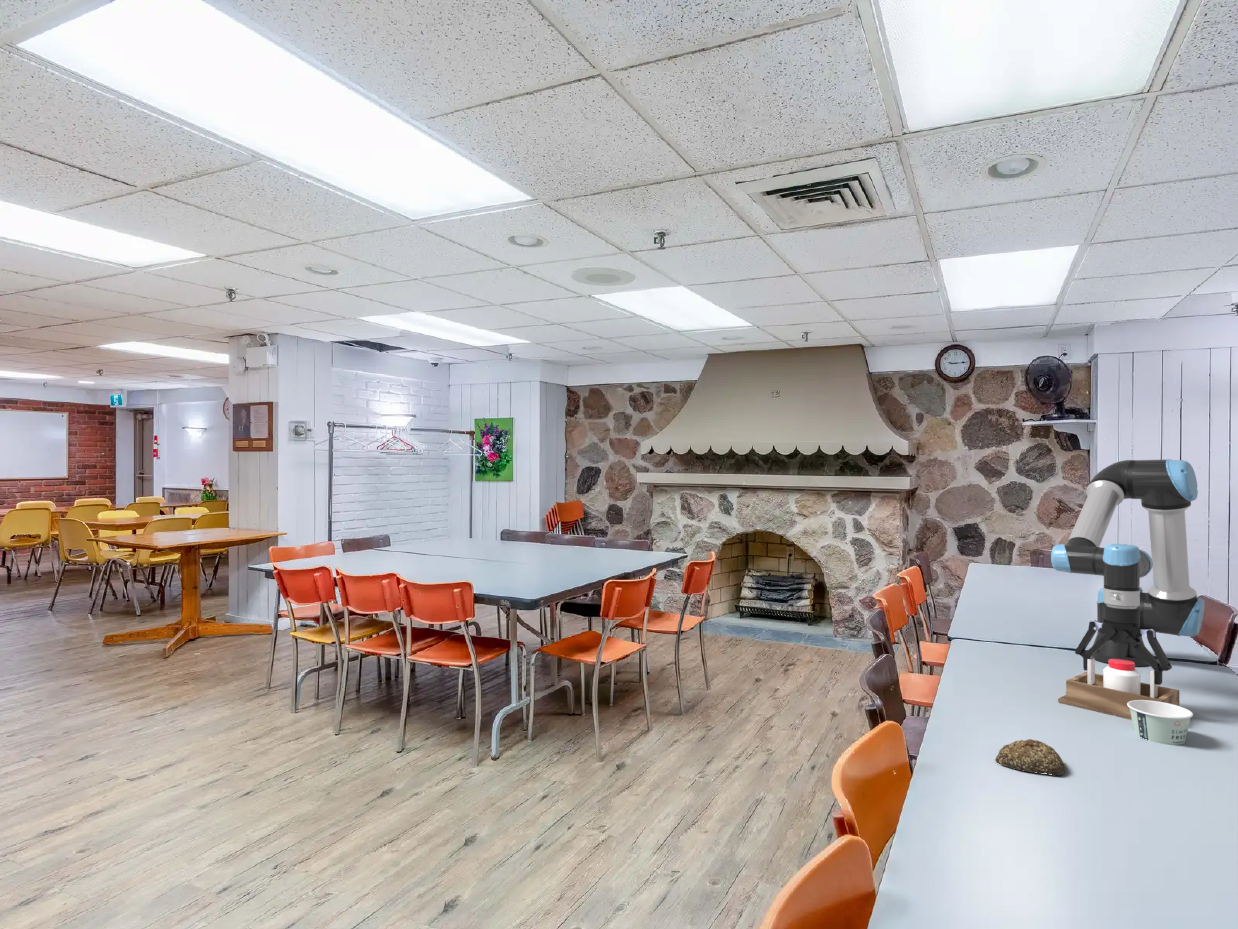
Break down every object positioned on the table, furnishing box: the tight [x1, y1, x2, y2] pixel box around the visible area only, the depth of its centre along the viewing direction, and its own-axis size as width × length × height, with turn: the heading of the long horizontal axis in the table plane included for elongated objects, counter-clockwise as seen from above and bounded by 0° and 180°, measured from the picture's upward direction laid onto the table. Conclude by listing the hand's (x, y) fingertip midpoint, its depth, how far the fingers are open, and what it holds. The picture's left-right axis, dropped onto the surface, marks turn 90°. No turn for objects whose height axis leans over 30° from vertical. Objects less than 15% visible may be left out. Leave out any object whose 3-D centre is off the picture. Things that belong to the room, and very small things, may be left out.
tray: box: [1057, 671, 1180, 721], centre depth 182 cm, size 14×24×6 cm, turn 38°
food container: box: [1127, 700, 1194, 746], centre depth 163 cm, size 12×12×7 cm
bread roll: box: [994, 738, 1066, 776], centre depth 149 cm, size 13×12×5 cm
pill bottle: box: [1102, 659, 1141, 695], centre depth 182 cm, size 8×8×11 cm
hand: (1121, 690), depth 182 cm, fingers open, 13 cm apart
